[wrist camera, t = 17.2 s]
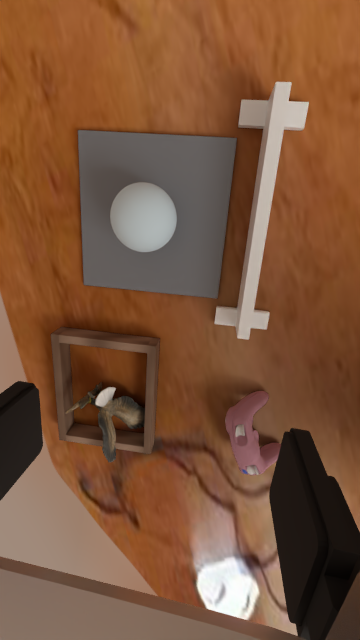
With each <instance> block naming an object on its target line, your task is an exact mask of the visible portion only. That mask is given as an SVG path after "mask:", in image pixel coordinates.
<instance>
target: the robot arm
mask: <svg viewBox="0 0 360 640" xmlns="http://www.w3.org/2000/svg"><path fill="white" fill-rule="evenodd" d="M42 446H43V440H42V426H41V412H40V399H39V390H38V389H37V388H36V386H35V385H34V384H33V383H27V382H21V381H18V382H16V383H14V384H13V385H12V386H10V387H9V388H8V389H6V390H5V391H4V392H2V393H1V394H0V500H1V499H2V498H3V497H4V496H5V494H6V493H7V492H8V491H9V489H10V488H11V487H12V486H13V485H14V483H15V482H16V481H17V480H18V479H19V477H20V476H21V475H22V474H23V473H24V471H25V470H26V469H27V468H28V467H29V465H30V464H31V463H32V462H33V461H34V459H35V458H36V457H37V456H38V455H39V453H40V451H41V449H42ZM269 496H270V505H271V511H272V518H273V524H274V530H275V536H276V543H277V549H278V555H279V561H280V568H281V574H282V580H283V586H284V593H285V599H286V605H287V612H288V617H289V620H290V622H291V623H295V624H296V628H297V633H298V636H296V635H293V634H290V633H287V632H284V631H281V630H278V629H275V628H272V627H269V626H265V625H262V624H258V623H255V622H251V621H247V620H244V619H240V618H237V617H233V616H230V615H226V614H222V613H219V612H215V611H212V610H208V609H204V608H200V607H197V606H193V605H189V604H185V603H181V602H177V601H173V600H169V599H166V598H162V597H158V596H154V595H150V594H146V593H142V592H139V591H135V590H131V589H127V588H123V587H119V586H115V585H111V584H107V583H103V582H99V581H95V580H91V579H87V578H84V577H80V576H76V575H71V574H68V573H63V572H60V571H56V570H52V569H48V568H44V567H40V566H36V565H32V564H28V563H24V562H20V561H15V560H12V559H7V558H3V557H0V640H360V532H359V530H358V528H357V525H356V523H355V521H354V519H353V516H352V514H351V512H350V509H349V507H348V505H347V503H346V500H345V498H344V496H343V493H342V491H341V489H340V487H339V484H338V482H337V481H336V479H335V478H334V477H332V476H327V473H326V471H325V468H324V466H323V463H322V461H321V459H320V456H319V454H318V451H317V449H316V446H315V444H314V441H313V439H312V437H311V434H310V432H309V431H306V430H300V429H294V428H291V429H290V432H285V433H284V435H283V439H282V443H281V447H280V451H279V455H278V459H277V463H276V467H275V471H274V475H273V479H272V483H271V487H270V495H269Z"/></svg>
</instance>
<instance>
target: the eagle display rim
mask: <svg viewBox="0 0 360 640" xmlns="http://www.w3.org/2000/svg"><path fill="white" fill-rule="evenodd" d="M51 343H52V355H53V367H54V380H55V392H56V404H57V416H58V429H59V440H64V441H70V442H76V443H83V444H89V445H96V446H102V447H103V438H102V436H103V433H102V429H101V428H100V427H96V426H90V425H83V424H76V423H74V410H73V411H71V412H69V413H65V412H66V411H67V410H68V409H69V408H70V407H72V406H73V393H72V376H71V359H70V344H76V345H84V346H92V347H100V348H108V349H117V350H125V351H133V352H141V353H147V374H146V399H145V425H144V434H143V433H137V432H130V431H123V430H116V429H115V433H116V441H115V448H116V449H121V450H128V451H134V452H141V453H147V454H151V451H152V447H153V444H154V439H155V421H156V403H157V384H158V366H159V348H160V338H152V337H143V336H135V335H126V334H118V333H109V332H101V331H92V330H83V329H75V328H66V327H60V328H59V329H57V330H56V331H54V332H53V333H51Z"/></svg>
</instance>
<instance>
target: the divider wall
mask: <svg viewBox="0 0 360 640" xmlns="http://www.w3.org/2000/svg"><path fill="white" fill-rule="evenodd" d="M291 83H292V82H276V83H275V86H274V88H273V90H272V93H271V95H270V98H269V100H268V101H267V100H241V107H240V115H239V123H238V128H258V129H263V134H262V141H261V147H260V154H259V161H258V168H257V175H256V182H255V189H254V196H253V202H252V209H251V216H250V223H249V230H248V237H247V244H246V250H245V257H244V264H243V271H242V278H241V285H240V292H239V298H238V305H237V308H234V307H224V306H216V314H215V324H220V325H229V326H235V328H236V334H237V338H239V339H248V340H249V336H250V330H251V328H256V329H265V330H267V325H268V320H269V314H270V313H269V311H262V310H254V306H255V300H256V294H257V288H258V282H259V276H260V270H261V264H262V258H263V252H264V246H265V240H266V234H267V228H268V222H269V216H270V210H271V204H272V198H273V192H274V186H275V180H276V174H277V168H278V162H279V156H280V150H281V143H282V137H283V131H284V130H300V131H302V130H303V129H304V126H305V121H306V116H307V110H308V105H309V102H294V101H289V95H290V89H291Z"/></svg>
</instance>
